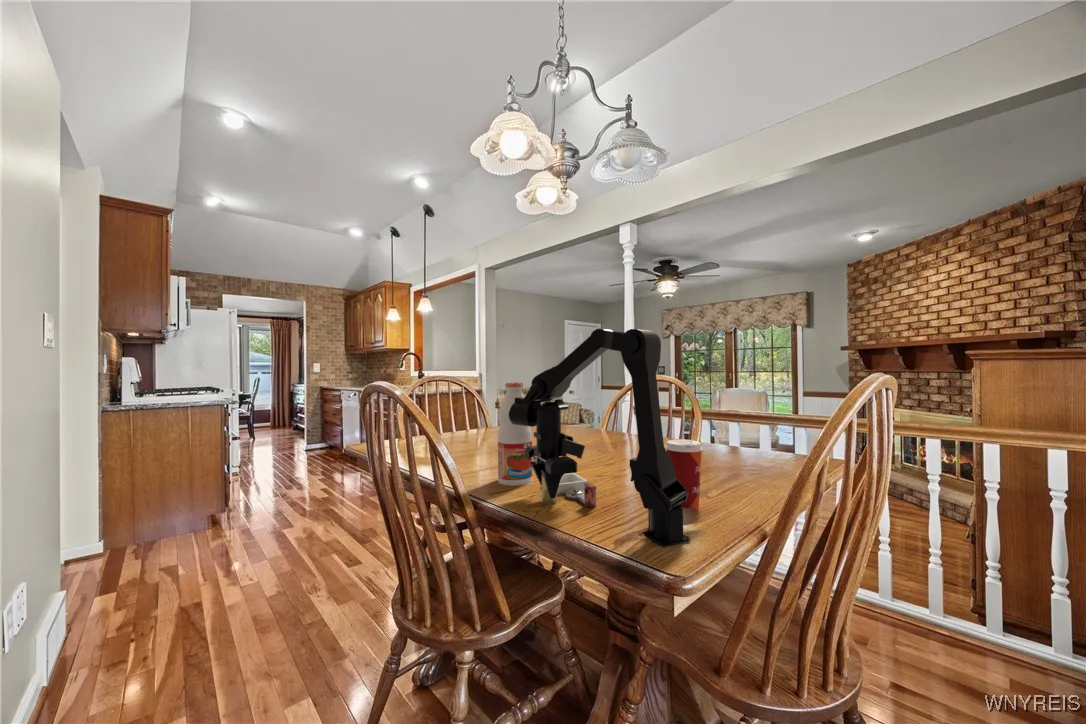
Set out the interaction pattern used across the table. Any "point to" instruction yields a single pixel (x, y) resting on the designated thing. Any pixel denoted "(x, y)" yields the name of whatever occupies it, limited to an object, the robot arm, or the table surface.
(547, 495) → the pin
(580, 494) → the crank
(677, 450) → the coffee cup
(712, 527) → the table surface
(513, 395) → the fruit juice
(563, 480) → the tray
